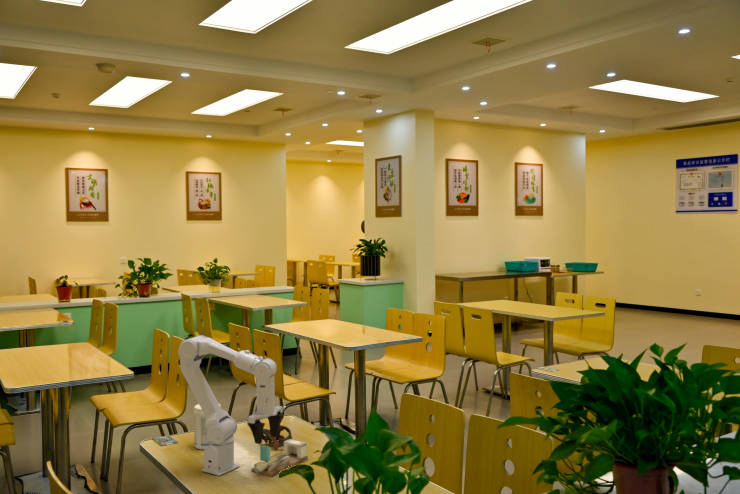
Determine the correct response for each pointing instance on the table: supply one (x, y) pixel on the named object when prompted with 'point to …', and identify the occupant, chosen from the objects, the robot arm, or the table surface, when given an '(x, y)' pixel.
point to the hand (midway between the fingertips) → (266, 440)
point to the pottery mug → (279, 437)
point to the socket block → (295, 448)
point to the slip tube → (266, 458)
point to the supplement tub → (200, 429)
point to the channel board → (281, 465)
